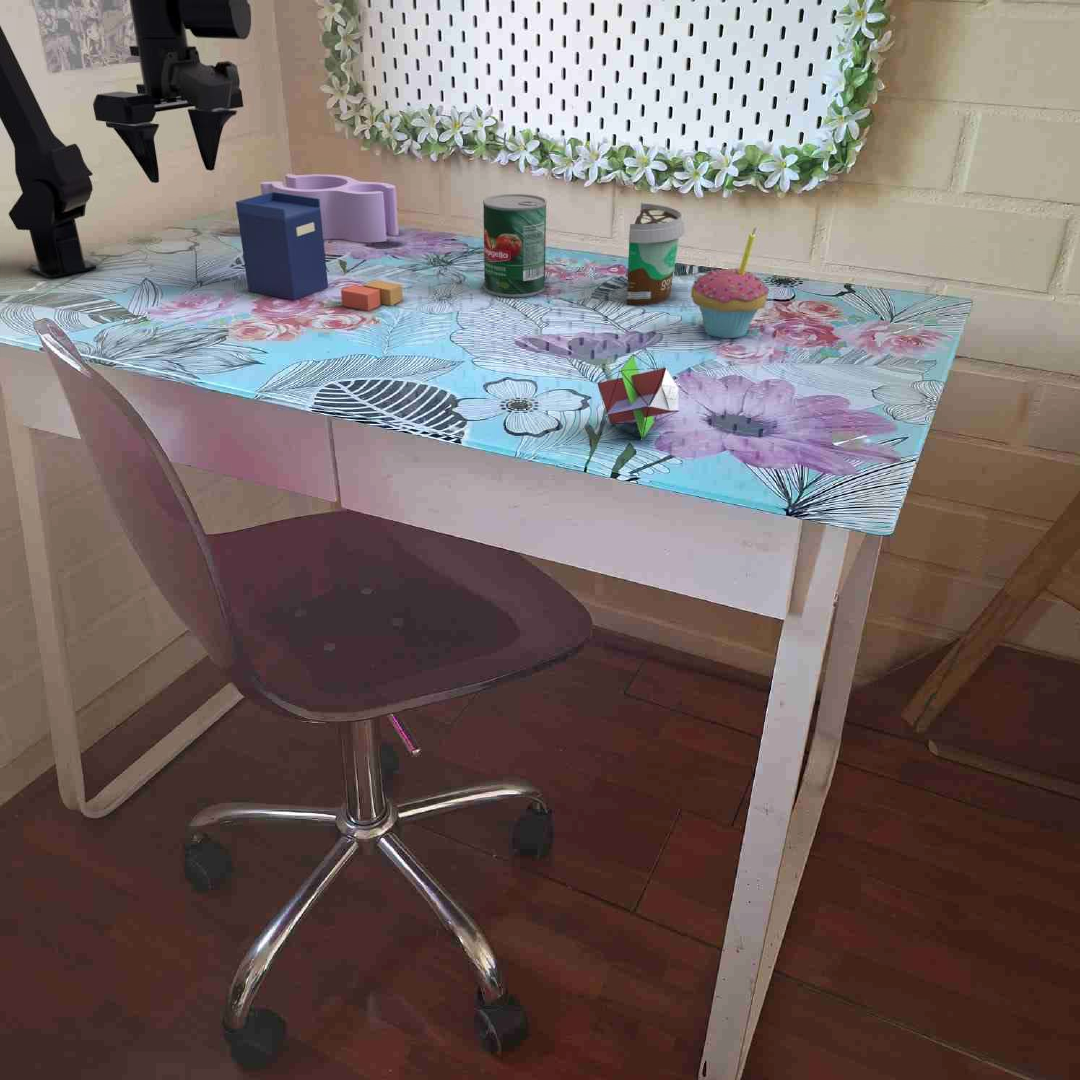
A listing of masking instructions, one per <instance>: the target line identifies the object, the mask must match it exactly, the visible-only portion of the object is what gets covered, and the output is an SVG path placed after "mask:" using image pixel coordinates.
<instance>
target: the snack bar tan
mask: <svg viewBox="0 0 1080 1080" xmlns="http://www.w3.org/2000/svg"><path fill="white" fill-rule="evenodd" d="M363 287H367V288H372V289H378V290H380V303H381V305H384V306H389V307H392V306H395V305H396V304H398V303H400V302H403V298H404V297H403V286H402V284H400V283H394V282H388V281H383V280H378V279H374V280H372V281H370V282H368V283H365V284H363Z"/></svg>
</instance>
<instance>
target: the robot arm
mask: <svg viewBox="0 0 1080 1080" xmlns="http://www.w3.org/2000/svg"><path fill="white" fill-rule="evenodd" d="M129 6H130V7H129V8H130V13H131V18H132V25H133V30H134V37H135V43H136V45H129V52H130V56H131V57H138V60H139V66H140V72H141V77H142V83H137V84H135V86H136V92H130V91H121V90H120V91H112V92H104V93H97V94H96V96H95V97H94V100H93V102H92V107H93V112H94V117H95V121H98V122H104V123H105V125H106V128H111V129H113V130H114V131H115V132H116V134H117V135H118V136H119V138H120V139H121V140H122V141H123V143H124V144H125V145H126V147H127V148H128V149H129V151H130V153H131V154H132V156H133V157H134V158H135V160H136V161H137V163H138V165H139V166H140V168H141V169H142V171H143V172H144V174H145V175H146V177H147V178H148V181H150V182H151V183H154V184H157V183H159V182H160V173H159V172H160V171H159V163H158V157H157V156H158V155H157V151H156V150H157V149H156V144H155V143H156V142H155V135H156V134H157V131H158V129H159V127H160V124H159V123H153V121H154V119H155V116H156V115H157V113H159V112H166V111H172V110H178V109H185V108H187V113H188V116H189V120H190V123H191V127H192V130H193V133H194V136H195V140H196V143H197V147H198V151H199V154H200V157H201V160H202V163H203V166H204V168H205V170H206V171H210V172H211V171H214V170H215V167H216V162H217V157H218V151H219V146H220V141H221V136H222V132H223V128H224V126H225V124H226V123H228V121H229V120H230V119H231V118H232V117H233V116H236V115H237V114H238V110H235V109H238V108H244V99H243V92H242V90H241V87H240V84H241V79H240V75H239V70H238V65H236V64H235V63H233V62H231V61H229V60H226V61H225V60H224V61H218V62H217V63H216V64H215V65H213V64H209V65H206V64H204V63H202V61H201V59H200V53H199V51H198V49H197V46H195V45H189V41H188V36H187V30H189V31H190V33H191V34H192V35H193V36H194V37H195V38H198V39H217V40H218V39H219V40H220V39H221V40H246V39H247V38H248V37H249V35H250V32H251V28H252V11H251V4H250V3H249V2H248V0H129ZM0 121H1V123H2V125H3V127H4V129H5V130H6V131H5V132H6V133H7V134H8V137H9V139H10V140H11V143H12V145H13V148H14V172H15V176H16V178H17V179H16V180H17V181H18V184H19V187H20V190H21V194H20V195H19V198H18V199H17V200H16V202H15V203H14V204H13V206H12V207H11V209H10V210H9V212H8V216H9V218H10V220H11V222H12V224H13V225H14V227H15V228H16V230H18V231H29V235H30V239H31V241H32V246H33V250H34V254H35V255H34V256H35V258H36V261H37V262H36V263H34V264H29V265H28V266H27V268H28V270H29V271H31V272H33V273H37V274H39V275H41V276H44V277H46V278H48V279H55V278H56V279H57V278H60V277H64V276H70V275H74V274H79V273H83V272H88V271H92V270H96V269H97V268H98V267H97V264H95V263H92V262H90V261H88V260H85V257H84V253H83V249H82V248H83V247H82V243H81V240H80V236H79V231H78V227H77V222H76V219H79V218H83V217H84V216H85V215H86V209H87V203H88V202H89V200H90V199H91V195H92V192H93V190H94V189H93V188H94V187H93V183H92V180H91V178H90V177H92V176H93V175H94V174H93V172H92V171H91V170H90V168H88V166H87V164H86V163H85V161H84V157H83V154H82V152H81V149H80V147H79V146H78V145H77V143H72V144H68V145H66V144H65V143H63V142H62V141H61V140H60V138H58V137H57V136H56V135H55V134H54V132H53V131H52V128H51V126H50V125H49V122H48V121H47V118H46V117H45V114H44V112H43V111H42V108H41V106H40V104H39V102H38V100H37V98H36V96H35V94H34V92H33V89H32V88H31V85H30V84H29V81H28V80H27V78H26V75H25V73H24V71H23V69H22V67H21V65H20V63H19V60H18V59H17V57H16V55H15V52H14V51H13V49H12V47H11V44H10V42H9V40H8V39H7V37H6V34H5V32H4V30H3V28H2V26H1V25H0Z"/></svg>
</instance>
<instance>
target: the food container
mask: <svg viewBox="0 0 1080 1080" xmlns="http://www.w3.org/2000/svg"><path fill="white" fill-rule="evenodd" d="M685 233H686V231H685V221H684V218H683V217H682V213H681V212H680V211H679V210H677V209H675V208H674V207H669V206H665V205H661V204H653V203H645V202H642V203H641V202H640V213H639V215H638V216H637V217H636V219H635V222H634V223H630V224H629V233H628V261H627V262H628V263H627V281H626V282H627V283H626V284H627V285H626V303H625V304H626V306H644V305H645V306H647V305H653V304H659V303H662V302H666V301H667V300H668V299H670V297H671V292H672V286H673V278H674V273H675V266H676V265H675V264H676V260H677V259H676V258H677V254H678V253H677V251H678V245H679V240H680V239H679V238H682V237H683V236H684V235H685Z"/></svg>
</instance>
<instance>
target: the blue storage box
mask: <svg viewBox="0 0 1080 1080" xmlns="http://www.w3.org/2000/svg"><path fill="white" fill-rule="evenodd" d="M235 205H236V213H237V220H238V226H239V227H238V228H239V233H240V240H241V241H240V242H241V247H242V255H243V262H244V269H245V276H246V283H247V291H248V292H251V293H256V294H262V295H266V296H270V297H276V298H281V299H285V300H291V301H296V300H299V299H302V298H304V297H306V296H307V297H308V296H309V295H311V294H313V293H316V292H319V291H321V290H324V289H327V288H329V282H328V271H327V270H328V269H327V262H326V261H327V260H326V251H325V242H324V241H325V239H324V240H323V230H322V220H321V210H320V199H318V198H311V197H304V196H298V195H291V194H284V193H278V192H270V193H267V194H263V195H262V194H259V195H256V196H252V197H249V198H245V199H240V200H237V201H235Z"/></svg>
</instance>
